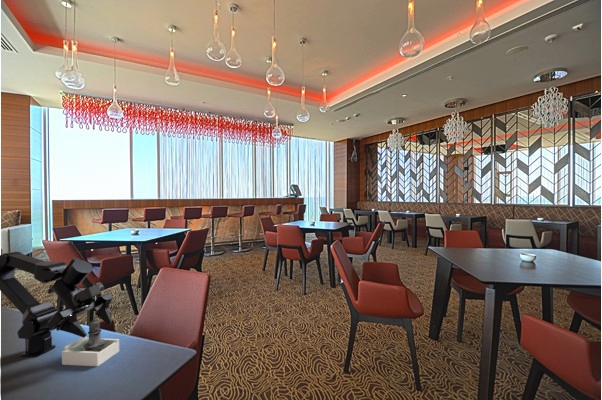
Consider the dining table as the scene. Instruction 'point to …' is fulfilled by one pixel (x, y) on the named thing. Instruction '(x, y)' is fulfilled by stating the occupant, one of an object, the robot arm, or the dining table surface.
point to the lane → (89, 353)
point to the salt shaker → (94, 337)
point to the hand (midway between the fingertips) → (98, 329)
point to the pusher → (80, 346)
